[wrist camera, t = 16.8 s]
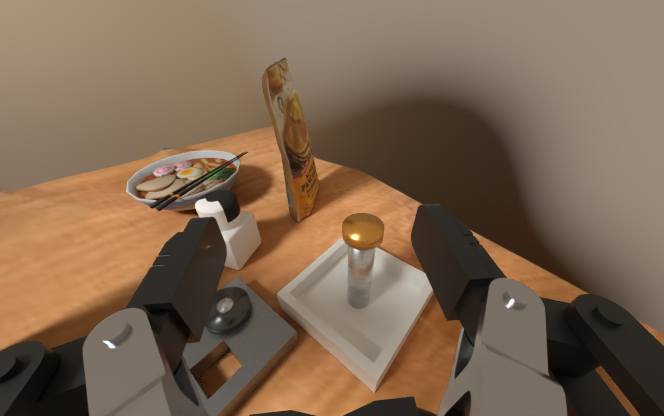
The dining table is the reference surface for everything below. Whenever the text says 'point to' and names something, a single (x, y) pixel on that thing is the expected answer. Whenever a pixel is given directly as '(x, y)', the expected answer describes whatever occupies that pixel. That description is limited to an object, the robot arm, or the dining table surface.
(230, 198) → the medicine bottle
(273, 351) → the grey flat square block
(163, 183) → the ramen bowl
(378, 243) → the pin
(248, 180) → the dining table surface
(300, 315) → the tray
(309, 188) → the pancake mix bag
